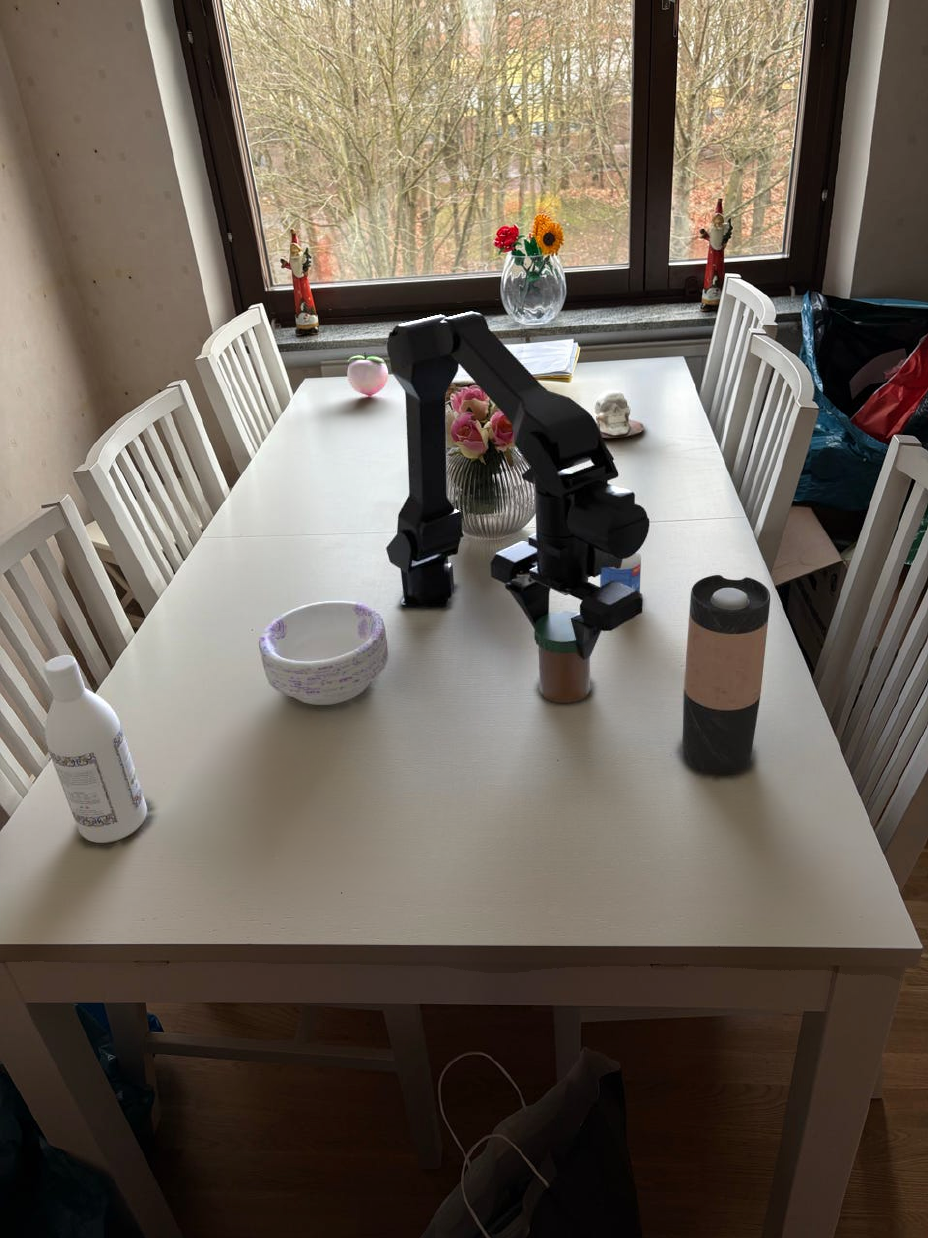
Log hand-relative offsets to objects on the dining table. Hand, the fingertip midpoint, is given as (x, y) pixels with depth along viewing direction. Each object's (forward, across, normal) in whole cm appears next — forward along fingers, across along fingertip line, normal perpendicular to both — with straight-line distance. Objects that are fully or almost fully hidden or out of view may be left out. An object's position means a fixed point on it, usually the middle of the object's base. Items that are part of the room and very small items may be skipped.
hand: (564, 646), depth 112 cm
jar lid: (-2, 0, 0) cm, 2 cm away
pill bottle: (+6, +9, -20) cm, 23 cm away
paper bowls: (+6, +22, +19) cm, 30 cm away
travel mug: (+6, -20, -2) cm, 21 cm away
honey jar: (+6, 0, 0) cm, 6 cm away
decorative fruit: (+6, +111, -51) cm, 122 cm away
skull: (+6, +54, -68) cm, 87 cm away
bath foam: (+6, +17, +50) cm, 53 cm away
